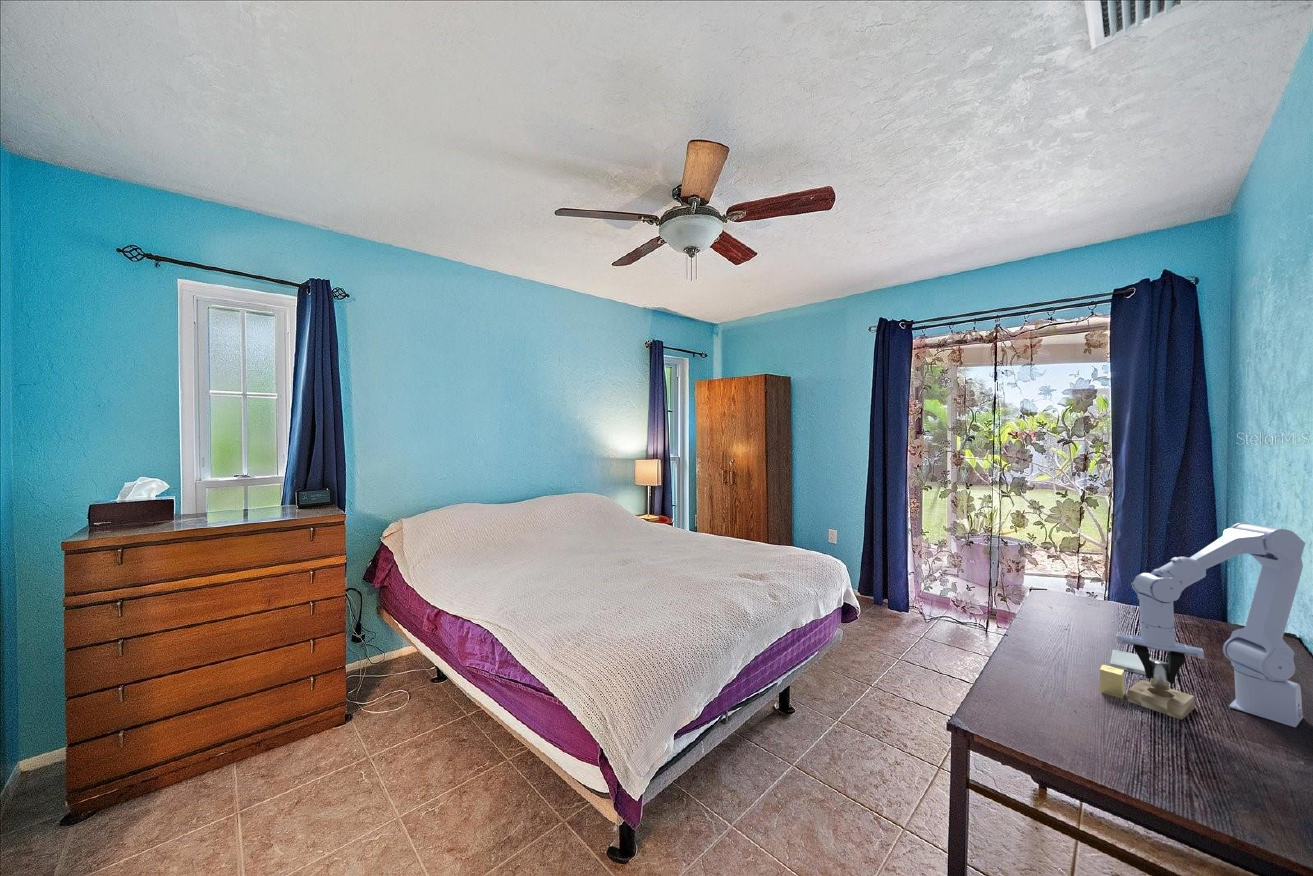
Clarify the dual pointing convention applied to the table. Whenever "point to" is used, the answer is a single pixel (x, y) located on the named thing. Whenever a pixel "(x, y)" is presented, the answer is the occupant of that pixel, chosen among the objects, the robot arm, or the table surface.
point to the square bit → (1112, 681)
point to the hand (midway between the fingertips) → (1159, 679)
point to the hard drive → (1127, 662)
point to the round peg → (1159, 674)
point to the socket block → (1161, 699)
